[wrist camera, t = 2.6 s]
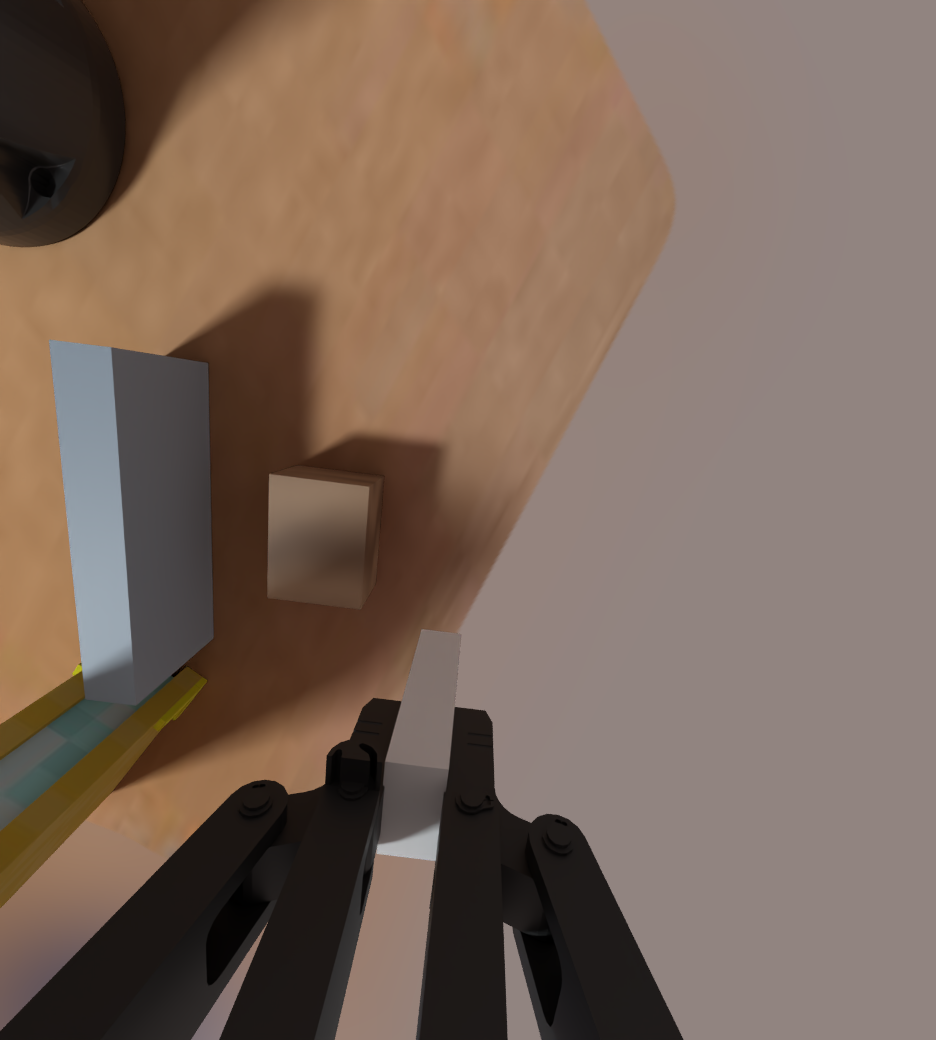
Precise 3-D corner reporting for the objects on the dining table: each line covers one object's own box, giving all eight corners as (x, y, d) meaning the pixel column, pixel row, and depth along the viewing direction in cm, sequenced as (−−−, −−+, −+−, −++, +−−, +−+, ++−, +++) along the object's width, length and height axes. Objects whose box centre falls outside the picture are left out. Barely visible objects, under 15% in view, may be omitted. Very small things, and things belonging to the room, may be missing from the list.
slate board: (162, 357, 30) (48, 339, 22) (208, 362, 30) (111, 347, 22) (174, 633, 34) (85, 699, 27) (213, 638, 34) (135, 705, 27)
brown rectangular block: (298, 464, 31) (269, 474, 27) (384, 475, 31) (369, 486, 27) (295, 572, 33) (267, 597, 29) (376, 583, 33) (360, 609, 29)
